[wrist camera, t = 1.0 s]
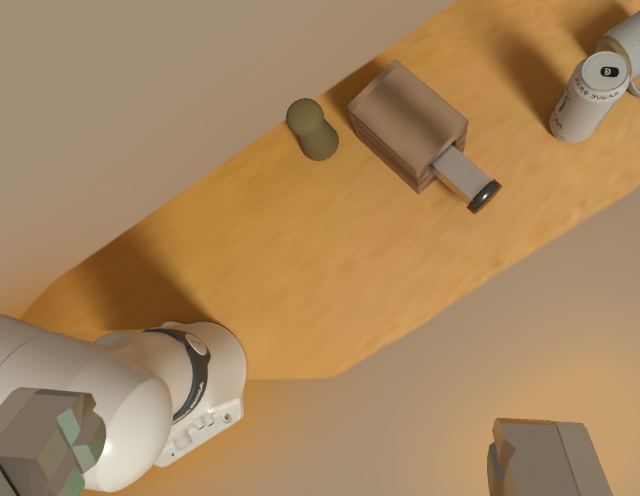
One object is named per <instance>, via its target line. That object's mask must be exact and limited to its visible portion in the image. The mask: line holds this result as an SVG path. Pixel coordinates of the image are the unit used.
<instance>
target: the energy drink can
mask: <svg viewBox="0 0 640 496" xmlns="http://www.w3.org/2000/svg"><path fill="white" fill-rule="evenodd" d="M629 78H630V76H629V66H628V64H627V62H626V60H625V59H624V58H623V57H622V56H621V55H619V54H617V53H614V52H610V51H603V52H598V53H595V54H593V55H591V56H590V57H588V58H586V59H584V60H582V61H581V62H580V63H579V64H578V65H577V66H576V68H575V70H574V72H573V74H572V75H571V77H570V79H569V81H568V83H567V85H566V87H565V89H564V91H563V93H562V95H561V97H560V99H559V100H558V102H557V104H556V106H555V108H554V110H553V112H552V114H551V116H550V119H549V126H550V129H551V132H552V133H553V135H554V136H555V137H556V138H558V139H559V140H561V141H564V142H568V143H577V142H581V141H584V140H585V139H587V138H588V137H590V136H591V135H592V133H593V132H594V131H595V130H596V128H597V127H598V126H599V124H600V123H601V122H602V120H603V119H604V118H605V117H606V115H607V114H608V113H609V111H610V110H611V109H612V108H613V106H614V105H615V104H616V102H617V101H618V100H619V98H620V97H621V96H622V95H623V93H624V92H625V91H626V89H627V87H628V84H629Z"/></svg>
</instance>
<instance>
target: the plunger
mask: <svg viewBox="0 0 640 496" xmlns="http://www.w3.org/2000/svg"><path fill="white" fill-rule="evenodd" d="M428 170H430V171H431V172H432V173H433V174H434V175H435V176H436V177H437V178H438V179H440V180H441V181H442V182H443V183H444V184H445V185H446V186H447V187H448V188H450V189H451V190H452V191H453V192H454V193H455V194H456V195H457V196H458V197H460V198H461V199H462V200H463V201H464V202H465V203H466V204H467V205H468V206H467V208H468V209H469V210H470V211H471V212H472V213H473V214H476V213H477V212H479V211H480V210H481V209H482V208H483V207H484V206H485V205H486V204H487V203H488V202H489V201H490V200H491V199H492V198H493V197H494V196H495V195H496V194H497V193H498V191H499V190H500V189H501V187H502V185H501V184H500V183H498V182H497V181H496V180H495V179H494V180H492V179H491V178H489V177H488V176H487V175H486V174H485V173H484V172H483V171H481V170H480V169H479V168H478V167H477V166H476V165H474V164H473V163H472V162H471V161H470V160H469V159H468V158H466V157H465V156H464V155H463V154H462V153H461V152H460V151H458V150H457V149H456V148H455V147H454V146H453V145H451V144H450V145H449V146H448V147H447V148H446V149H445V150H444V151H443V152H442V153H441V154H440V155H439V156H438V157H437V158H436V159H435V160H434V161H433V162H432V163H431V164H430V165H429V166H428Z"/></svg>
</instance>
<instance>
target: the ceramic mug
mask: <svg viewBox="0 0 640 496" xmlns="http://www.w3.org/2000/svg"><path fill="white" fill-rule="evenodd" d="M603 51H610V52H614V53H617V54H619V55H621V56H622V57H623V58H624V59H625V60H626V62H627V64H628V66H629V76H630V78H629V84H628V87H627V88H628V90H629V91H630V92H631V93H632V94H633V95H635V96H636V97H639V98H640V91H639V90H638V89H637V88H636V86H635V85H634V83H633V79H634V78H636V77H638V76H640V11H638V12H637V13H635V14H634V15H632V16H630V17H629V18H627V19H626V20H624V21H623V22H621V23H620V24H618V25H617V26H615V27H613V28H612V29H610V30H609V31H607V32H606V33H605V34H604V35H602V36H601V37H600V38H599V39H598V41H597V43H596V46H595V53H598V52H603Z"/></svg>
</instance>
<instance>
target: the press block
mask: <svg viewBox="0 0 640 496" xmlns="http://www.w3.org/2000/svg"><path fill="white" fill-rule="evenodd" d="M346 109H347V111H348V114H349V116H350V119H351V121H352V124H353V127H354V129H355V132H356V134H357V137H358V139H359V140H360V141H362V142H363V143H364V144H365V145H366V146H367V147H368V148H369V149H370V150H371V151H372V152H373V153H374V154H376V155H377V156H378V157H379V158H380V159H381V160H382V161H383V162H384V163H385V164H386V165H387V166H389V167H390V168H391V169H392V170H393V171H394V172H395V173H396V174H397V175H398V176H399V177H400V178H401V179H403V180H404V181H405V182H406V183H407V184H408V185H409V186H410V187H411V188H412V189H413V190H414V191H415V192H417V193H418V194H420V193H421V192H422V191H423V190H424V189H425V188H427V187H428V186H429V185H430V184H431V183H432V182H433V181H434V180H435V179H436V178H437V177H436V176H435V175H434V174H433V173H432V172H431V171H430V170H428V166H429V165H430V164H431V163H432V162H433V161H434V160H435V159H436V158H437V157H438V156H439V155H440V154H441V153H442V152H443V151H444V150H445V149H446V148H447V147H448V146H449V145H450V144H451V145H453V146H454V147H455V148H456V149H457V150H458V151H460V152H461V153H462V152H464V146H465V139H466V133H467V126H468V119H466V118H465V117H464V116H463V115H462V114H460V113H459V112H458V111H457V110H456V109H454V108H453V107H452V106H451V105H450V104H449V103H447V102H446V101H445V100H444V99H443V98H441V97H440V96H439V95H438V94H437V93H435V92H434V91H433V90H432V89H431V88H430V87H428V86H427V85H426V84H425V83H424V82H422V81H421V80H420V79H419V78H418V77H416V76H415V75H414V74H413V73H412V72H410V71H409V70H408V69H407V68H406V67H405V66H403V65H402V64H401V63H400V62H399V61H397V60H396V59H394V60H393V61H392V62H391V63H390V64H389V65H388V66H387V67H386V68H385V69H384V70H383V71H382V72H381V73H380V74H379V75H378V76H377V77H376V78H375V79H374V80H373V81H372V82H370V83H369V84H368V85H367V86H366V87H365V88H364V89H363V90H362V91H361V92H360V93H359V94H358V95H357V96H356V97H355V98H354V99H353V100H352V101H351V102H350V103H349V104H348V105H347V106H346Z"/></svg>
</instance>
